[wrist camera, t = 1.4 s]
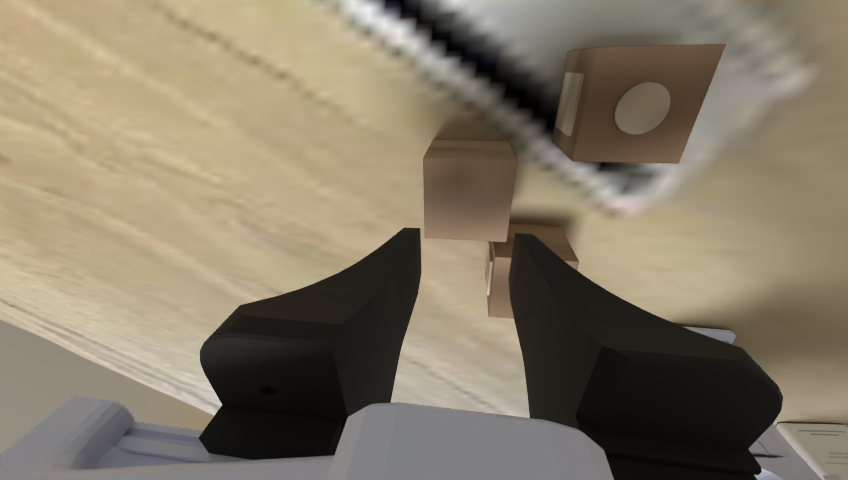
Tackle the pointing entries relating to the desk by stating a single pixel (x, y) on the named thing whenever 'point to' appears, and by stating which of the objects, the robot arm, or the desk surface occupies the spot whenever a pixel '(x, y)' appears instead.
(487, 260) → the marked block 2
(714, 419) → the robot arm
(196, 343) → the desk surface
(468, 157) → the plain block
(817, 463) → the ink box
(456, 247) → the desk surface
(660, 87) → the marked block 1
